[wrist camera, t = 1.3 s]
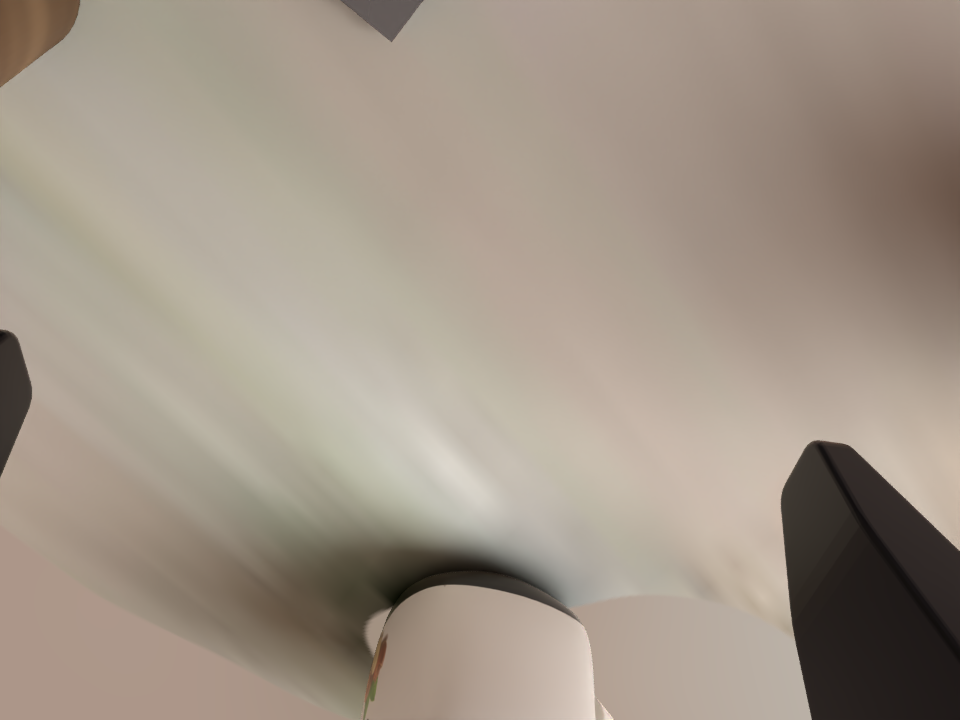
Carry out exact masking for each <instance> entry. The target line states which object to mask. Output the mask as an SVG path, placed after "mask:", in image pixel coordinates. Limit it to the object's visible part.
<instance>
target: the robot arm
mask: <svg viewBox="0 0 960 720" xmlns="http://www.w3.org/2000/svg"><path fill="white" fill-rule="evenodd" d="M31 399H32V386H31V381H30V378H29V375H28V371H27V368H26V364H25V361H24V357H23V354H22V351H21V347H20V344H19V341H18V339H17V337H16V336H15V335H14V334H13V333H12V332H9V331H7V330H1V329H0V477H1V474H2V472H3V470H4V467H5V465H6V462H7V460H8V458H9V455H10V453H11V450H12V448H13V446H14V443H15V441H16V438H17V436H18V434H19V431H20V429H21V426H22V424H23V422H24V419H25V417H26V414H27V412H28V409H29V407H30V403H31ZM781 513H782V524H783V534H784V545H785V556H786V567H787V578H788V589H789V600H790V609H791V617H792V625H793V630H794V636H795V641H796V647H797V651H798V656H799V660H800V665H801V670H802V675H803V680H804V684H805V689H806V694H807V699H808V703H809V708H810V713H811V717H812V720H960V551H959V550H958V549H957V548H956V547H955V546H954V545H953V544H952V543H951V542H950V541H949V540H948V539H946V538H945V537H944V536H943V535H942V534H941V533H940V532H939V531H938V530H937V529H936V528H935V527H934V526H933V525H932V524H931V523H930V522H929V521H928V520H927V519H926V518H925V517H924V516H923V515H922V514H921V513H919V512H918V511H917V510H916V509H915V508H914V507H913V506H912V505H911V504H910V503H909V502H908V501H907V500H906V499H905V498H904V497H903V496H902V495H901V494H900V493H899V492H898V491H897V490H896V489H895V488H894V487H893V486H891V485H890V484H889V483H888V482H887V481H886V480H885V479H884V478H883V477H882V476H881V475H880V474H879V473H878V472H877V471H876V470H875V469H874V468H873V467H872V466H871V465H870V464H869V463H868V462H867V461H866V460H864V459H863V458H862V457H861V456H860V455H859V454H858V453H857V452H856V451H855V450H854V449H853V448H852V447H850V446H848V445H846V444H842V443H835V442H828V441H820V440H817V441H812V442H811V443H809V444H808V445H807V447H806V448H805V449H804V451H803V453H802V455H801V457H800V458H799V460H798V462H797V464H796V465H795V467H794V469H793V471H792V473H791V474H790V476H789V478H788V480H787V482H786V483H785V486H784V488H783V491H782V496H781Z"/></svg>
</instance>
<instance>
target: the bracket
mask: <svg viewBox="0 0 960 720" xmlns="http://www.w3.org/2000/svg"><path fill="white" fill-rule="evenodd" d="M341 1H342V2H343V3H345V4H346V5H347V6H348V7H350V8H351V9H352V10H353V11H354V12H356V13H357V14H358V15H359V16H360V17H362V18H363V19H364V20H365V21H367V22H368V23H369V24H370V25H371V26H373V27H374V28H375V29H376V30H378V31H379V32H380V33H381V34H382V35H384V36H385V37H386V38H387V39H388V40H390V41H391V42H392V41H393V39H394V38H395V37H396V36H397V34H398V33H399V32H400V30H401V29H402V28H403V26H404V25H405V24H406V22H407V21H408V20H409V18H410V17H411V16H412V14H413V13H414V12H415V10H416V9H417V8H418V6H419V5H420V4H421V3H422V1H423V0H341Z"/></svg>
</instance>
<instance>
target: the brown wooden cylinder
mask: <svg viewBox="0 0 960 720" xmlns="http://www.w3.org/2000/svg"><path fill="white" fill-rule="evenodd" d="M79 5H80V0H0V87H1V86H3V85H4V84H5V83H7V82H8V81H9V80H10V79H12V78H13V77H14V76H16V75H17V74H18V73H20V72H21V71H22V70H23V69H25V68H26V67H27V66H29V65H30V64H31V63H33V62H34V61H35V60H36V59H38V58H39V57H40V56H42V55H43V54H44V53H46V52H47V51H48V50H49V49H51V48H52V47H53V46H55V45H56V44H57V43H59V42H60V41H61V40H62V39H64V37H65V36H66V35H67V34H68V33H69V32H70V30H71V28H72V27H73V25H74V23H75V20H76V18H77V15H78V10H79Z"/></svg>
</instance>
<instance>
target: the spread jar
mask: <svg viewBox="0 0 960 720" xmlns="http://www.w3.org/2000/svg"><path fill="white" fill-rule="evenodd" d="M593 679H594V678H593V664H592V656H591V649H590V643H589V639H588V636H587V632H586V629H585V628H584V626H583V625H582V623H581V622H580V620H579V619H578V617H577V616H576V615H575V614H574V613H573V612H572V611H570V610H569V609H568V608H567V607H566V606H565V605H563V604H562V603H561V602H559V601H558V600H556V599H555V598H553V597H552V596H550V595H548V594H547V593H545V592H543V591H541V590H540V589H537V588H536V587H534V586H532V585H530V584H528V583H526V582H523V581H521V580H519V579H516V578H513V577H510V576H506V575H502V574H498V573H492V572H485V571H455V572H448V573H442V574H437V575H433V576H429V577H427V578H424V579H422V580H420V581H418V582H416V583H415V584H413V585H412V586H410V587H409V588H408V589H406V590H405V591H404V592H403V593H402V594H401V595H400V597H399V598H398V599H397V601H396V602H395V604H394V606H393V607H392V609H391V611H390V613H389V615H388V617H387V619H386V622H385V625H384V628H383V630H382V633H381V636H380V638H379V641H378V644H377V648H376V652H375V655H374V659H373V663H372V666H371V670H370V675H369V679H368V684H367V688H366V693H365V698H364V703H363V709H362V714H361V720H614V719H613V718H612V716H611V715H610V714H609V713H608V711H607V710H606V709H605V708H604V706H603V705H602V704H601V703H600V701H599V700H598V699H597V698H596V697H595V696H594V680H593Z"/></svg>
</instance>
